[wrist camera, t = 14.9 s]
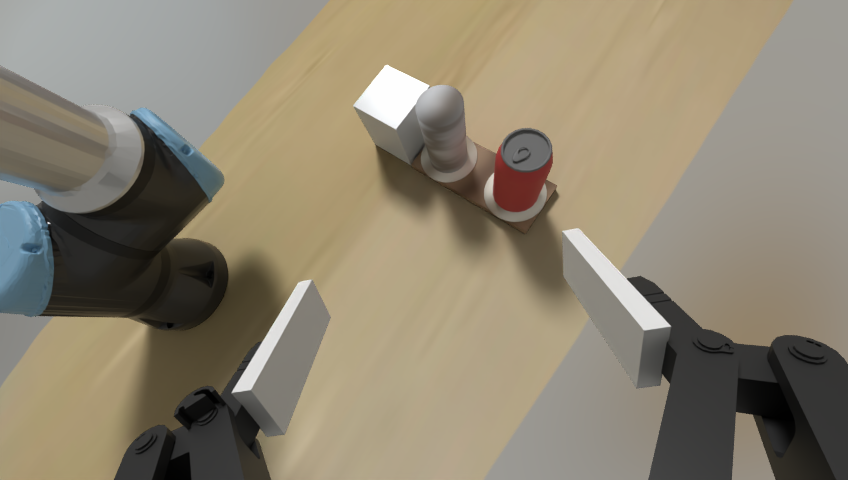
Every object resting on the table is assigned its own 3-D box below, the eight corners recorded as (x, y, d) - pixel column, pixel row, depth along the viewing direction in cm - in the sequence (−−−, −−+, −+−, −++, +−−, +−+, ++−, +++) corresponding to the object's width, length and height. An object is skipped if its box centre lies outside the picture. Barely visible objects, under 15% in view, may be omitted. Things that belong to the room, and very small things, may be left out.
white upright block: (375, 144, 55) (353, 105, 45) (402, 109, 56) (386, 64, 46) (411, 165, 52) (395, 129, 43) (438, 129, 53) (429, 85, 44)
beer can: (482, 192, 47) (483, 149, 36) (515, 164, 48) (526, 113, 36) (514, 222, 45) (526, 187, 34) (548, 193, 46) (570, 148, 34)
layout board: (411, 169, 52) (389, 117, 39) (442, 128, 53) (431, 65, 40) (524, 235, 46) (540, 200, 33) (556, 187, 47) (584, 135, 34)
